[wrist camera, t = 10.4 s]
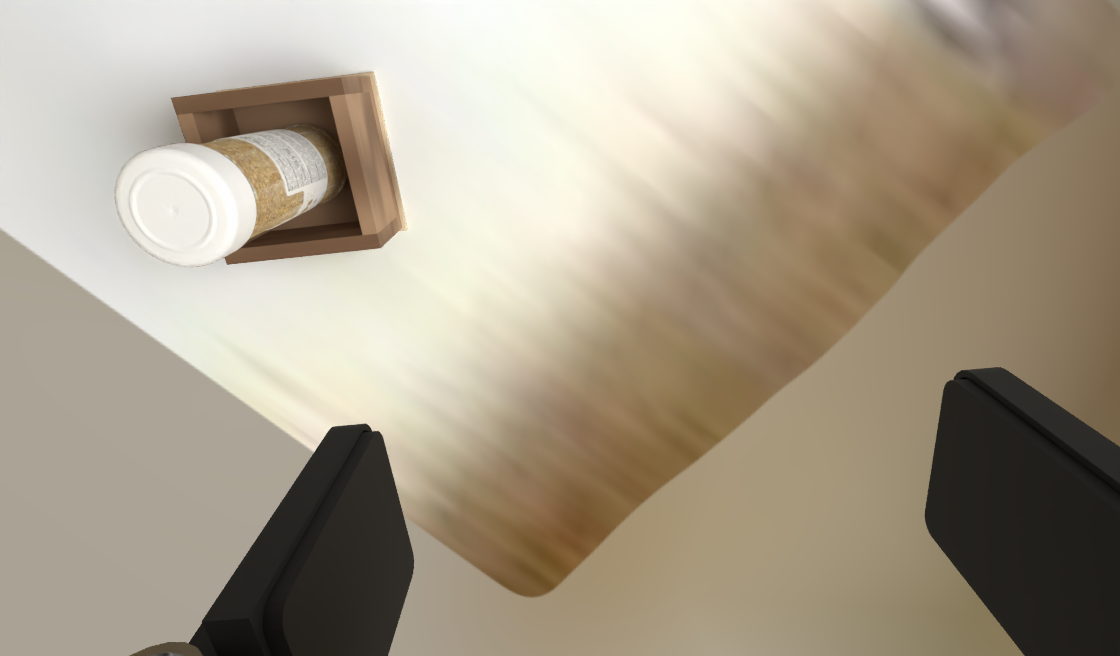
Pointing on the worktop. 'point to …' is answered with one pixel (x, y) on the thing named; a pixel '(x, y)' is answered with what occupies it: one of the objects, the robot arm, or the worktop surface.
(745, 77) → the worktop surface
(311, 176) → the sprinkles bottle
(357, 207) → the open wooden box
